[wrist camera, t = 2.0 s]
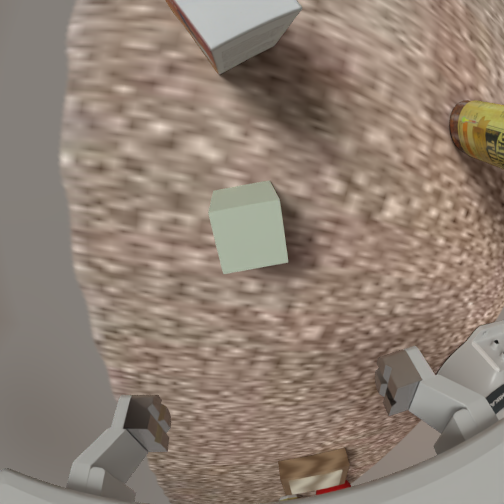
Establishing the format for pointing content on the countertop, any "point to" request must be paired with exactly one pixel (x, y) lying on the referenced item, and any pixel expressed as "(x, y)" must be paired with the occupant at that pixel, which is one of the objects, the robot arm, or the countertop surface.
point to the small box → (234, 26)
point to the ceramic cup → (290, 497)
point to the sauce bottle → (479, 130)
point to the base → (314, 471)
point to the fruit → (334, 488)
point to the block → (248, 227)
